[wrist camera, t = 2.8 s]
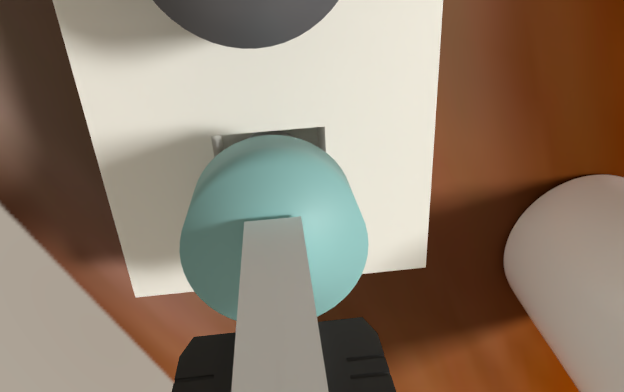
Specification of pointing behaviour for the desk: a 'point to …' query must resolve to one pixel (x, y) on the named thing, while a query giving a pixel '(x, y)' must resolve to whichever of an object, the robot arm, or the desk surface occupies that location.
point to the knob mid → (246, 19)
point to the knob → (272, 205)
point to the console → (257, 117)
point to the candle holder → (575, 276)
